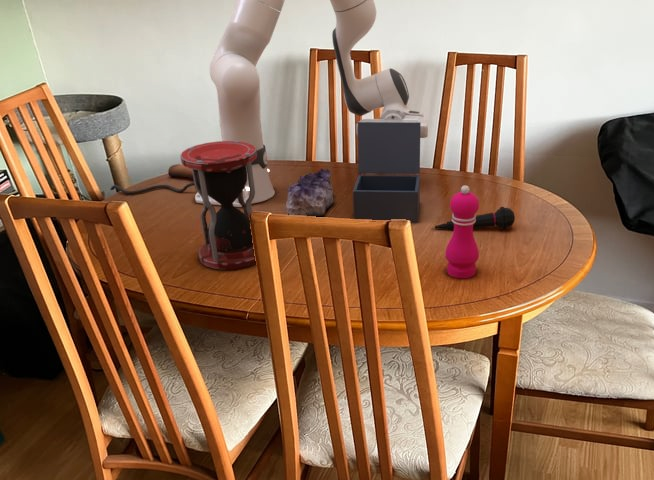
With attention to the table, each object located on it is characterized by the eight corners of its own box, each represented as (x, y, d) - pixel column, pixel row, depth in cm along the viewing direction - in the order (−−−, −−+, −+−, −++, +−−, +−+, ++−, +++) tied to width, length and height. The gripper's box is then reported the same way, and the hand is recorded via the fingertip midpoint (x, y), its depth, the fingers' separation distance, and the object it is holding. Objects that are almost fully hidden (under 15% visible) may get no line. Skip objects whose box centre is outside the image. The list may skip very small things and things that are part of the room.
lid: (420, 122, 162) (420, 122, 163) (357, 122, 163) (358, 122, 164) (419, 173, 166) (419, 173, 167) (358, 173, 168) (358, 172, 169)
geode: (302, 192, 180) (304, 159, 176) (340, 200, 179) (343, 166, 174) (278, 217, 163) (280, 181, 158) (320, 225, 162) (323, 189, 157)
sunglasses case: (232, 174, 194) (222, 160, 188) (222, 191, 191) (212, 177, 185) (185, 168, 200) (175, 154, 195) (175, 185, 197) (164, 171, 192)
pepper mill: (442, 265, 139) (444, 180, 129) (473, 263, 140) (479, 178, 130) (447, 280, 133) (451, 192, 123) (480, 278, 133) (486, 191, 123)
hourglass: (185, 264, 142) (164, 158, 130) (224, 236, 155) (208, 137, 143) (246, 275, 137) (230, 166, 125) (281, 244, 150) (270, 143, 138)
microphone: (436, 242, 156) (516, 232, 155) (435, 226, 152) (516, 215, 150) (434, 228, 160) (512, 217, 158) (432, 211, 156) (512, 200, 154)
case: (417, 222, 160) (417, 192, 156) (354, 221, 162) (352, 191, 158) (419, 203, 171) (419, 175, 167) (360, 203, 173) (358, 174, 168)
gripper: (358, 112, 180) (351, 124, 168) (428, 112, 178) (427, 125, 166) (358, 133, 183) (352, 147, 171) (428, 134, 181) (427, 148, 169)
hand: (390, 136), depth 168 cm, fingers closed
